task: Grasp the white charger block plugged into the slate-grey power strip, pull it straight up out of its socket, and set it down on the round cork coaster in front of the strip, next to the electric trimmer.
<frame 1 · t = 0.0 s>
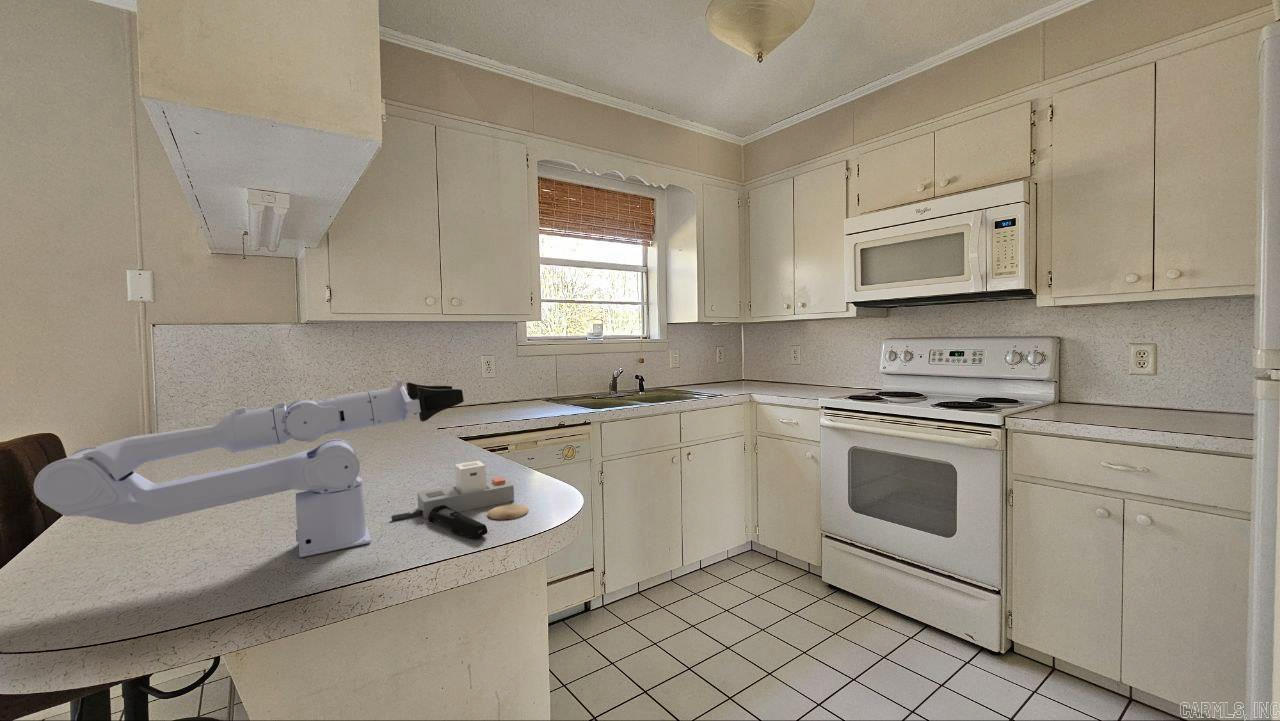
hand: (457, 393, 94), 22 cm above the countertop, tool horizontal, fingers open, 7 cm apart
power strip: (466, 504, 102), on the countertop
charger: (471, 493, 102), point 2 cm above the countertop, touching power strip
electric trimmer: (458, 531, 90), on the countertop
coaster: (508, 512, 96), on the countertop
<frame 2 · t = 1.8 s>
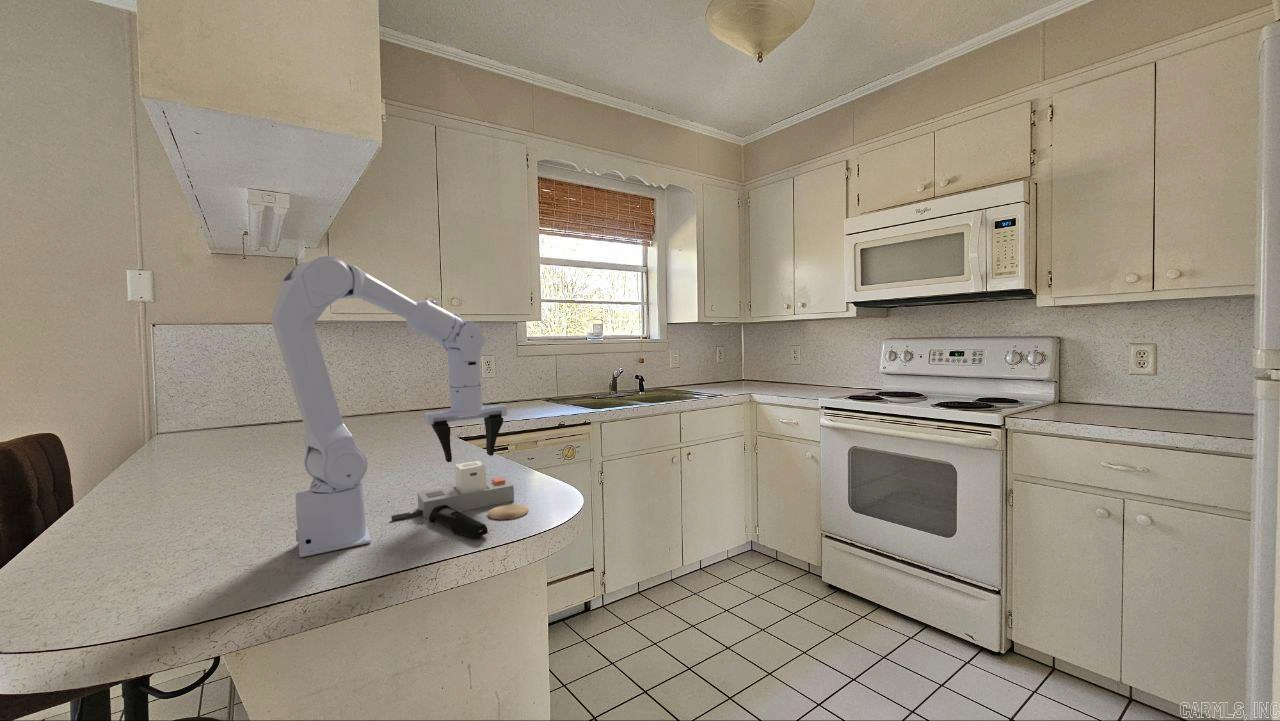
hand: (469, 457, 102), 9 cm above the countertop, tool pointing down, fingers open, 7 cm apart
nothing on the countertop moved.
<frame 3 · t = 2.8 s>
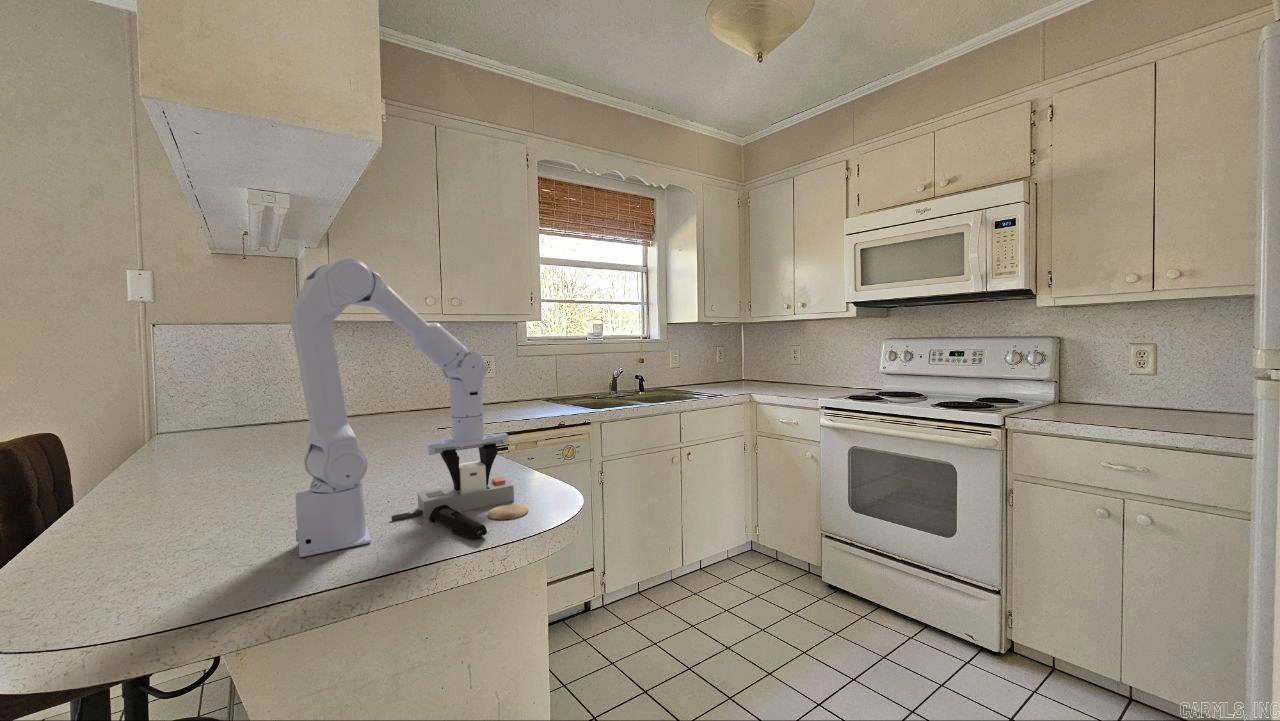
hand: (471, 486, 102), 3 cm above the countertop, tool pointing down, fingers closed on charger, 4 cm apart
charger: (471, 493, 102), point 2 cm above the countertop, touching gripper, power strip
everything else where it was.
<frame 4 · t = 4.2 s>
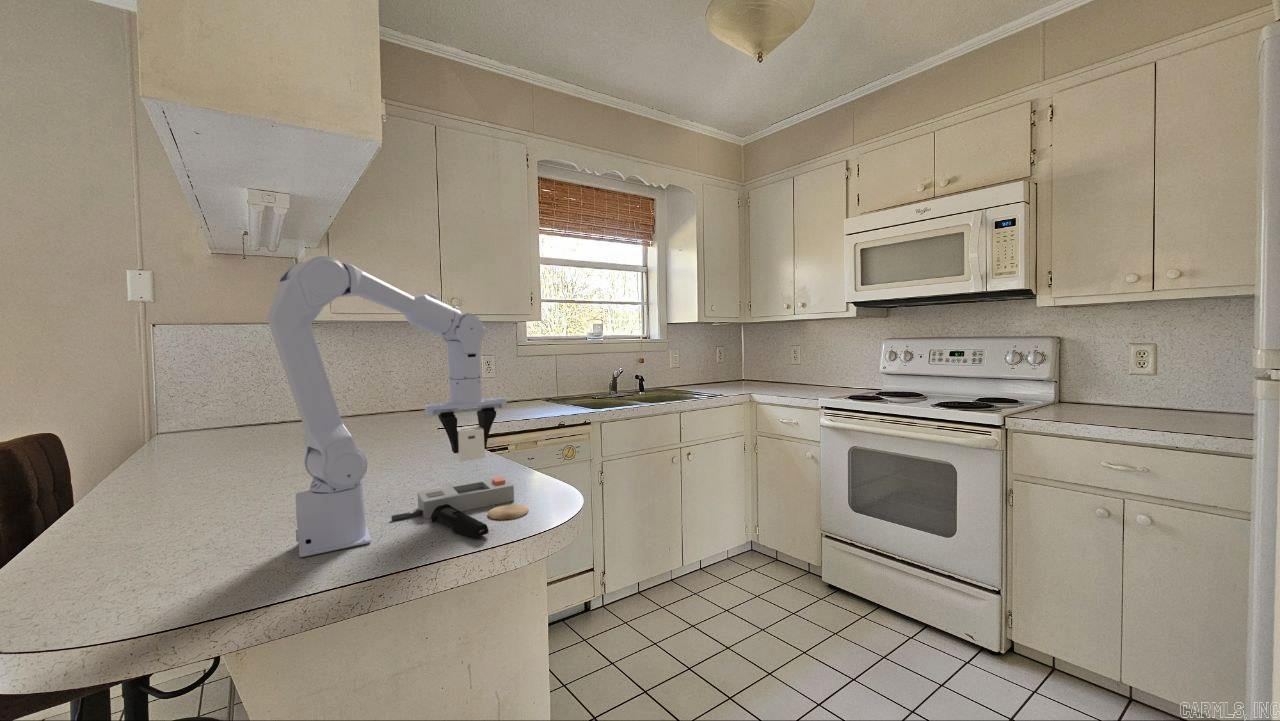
hand: (469, 450, 102), 10 cm above the countertop, tool pointing down, fingers closed on charger, 4 cm apart
charger: (469, 457, 102), point 9 cm above the countertop, touching gripper
everything else where it was.
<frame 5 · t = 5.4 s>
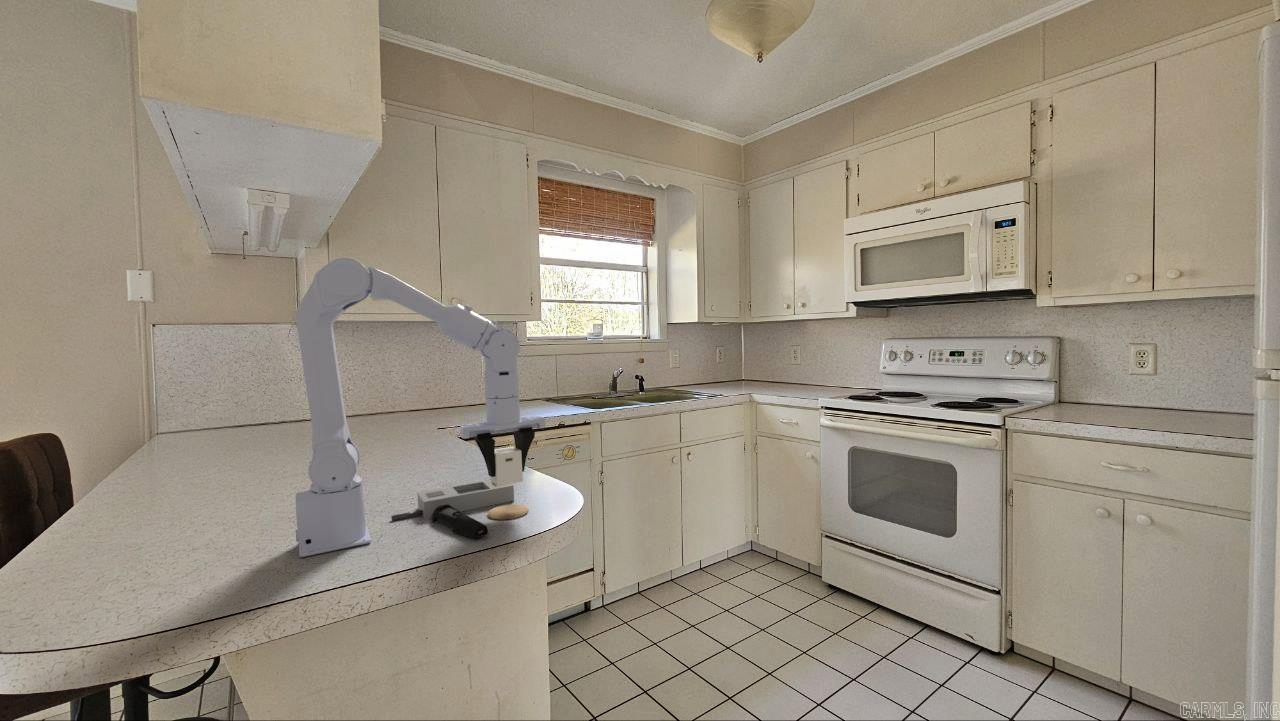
hand: (506, 473, 96), 7 cm above the countertop, tool pointing down, fingers closed on charger, 4 cm apart
charger: (506, 480, 96), point 6 cm above the countertop, touching gripper
everything else where it was.
when the fingers open (3 cm above the countertop, at t = 6.6 s): charger drops 1 cm, resting on coaster.
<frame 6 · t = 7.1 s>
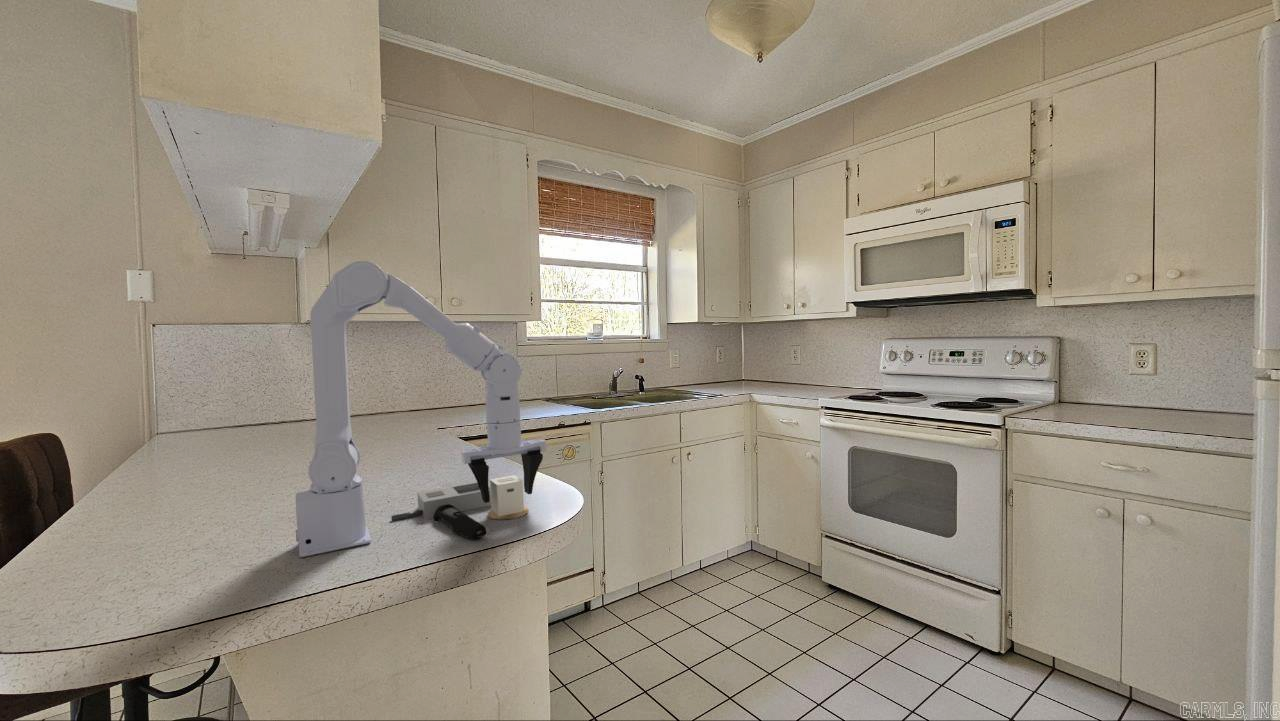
hand: (507, 496, 96), 3 cm above the countertop, tool pointing down, fingers open, 7 cm apart
charger: (507, 510, 97), resting on coaster
everything else where it was.
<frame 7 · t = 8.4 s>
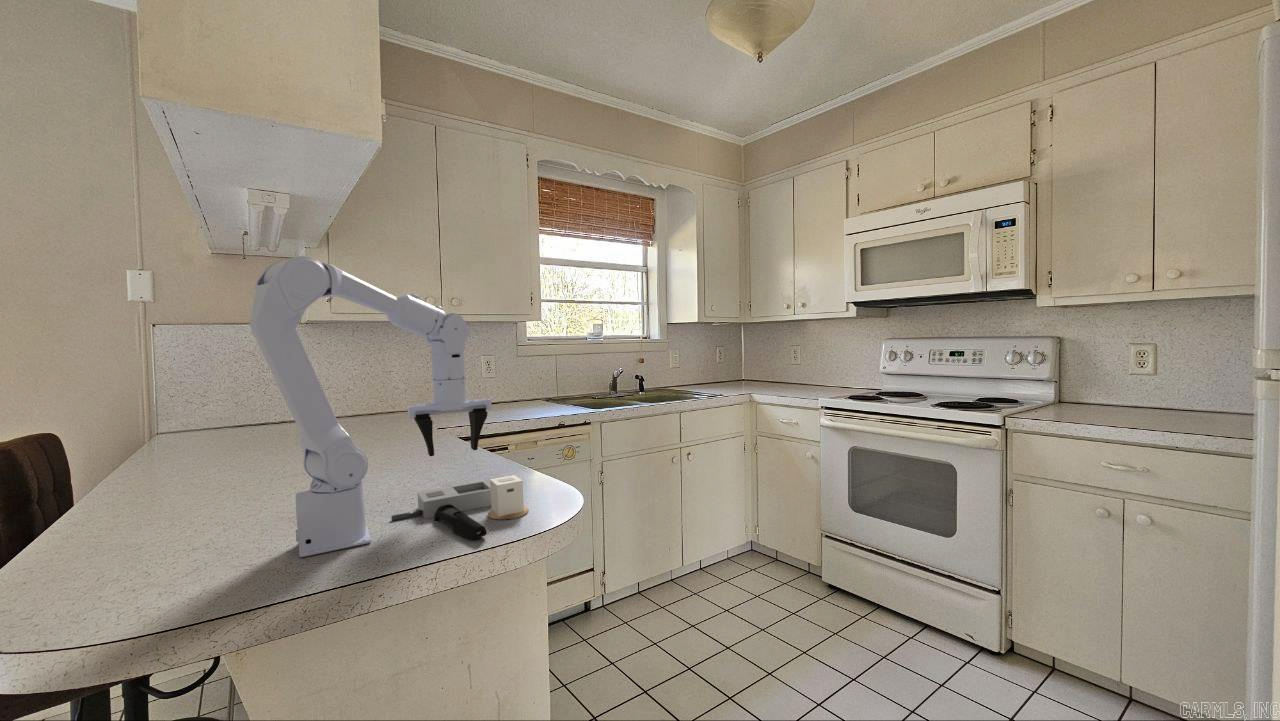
hand: (453, 452, 100), 10 cm above the countertop, tool pointing down, fingers open, 7 cm apart
nothing on the countertop moved.
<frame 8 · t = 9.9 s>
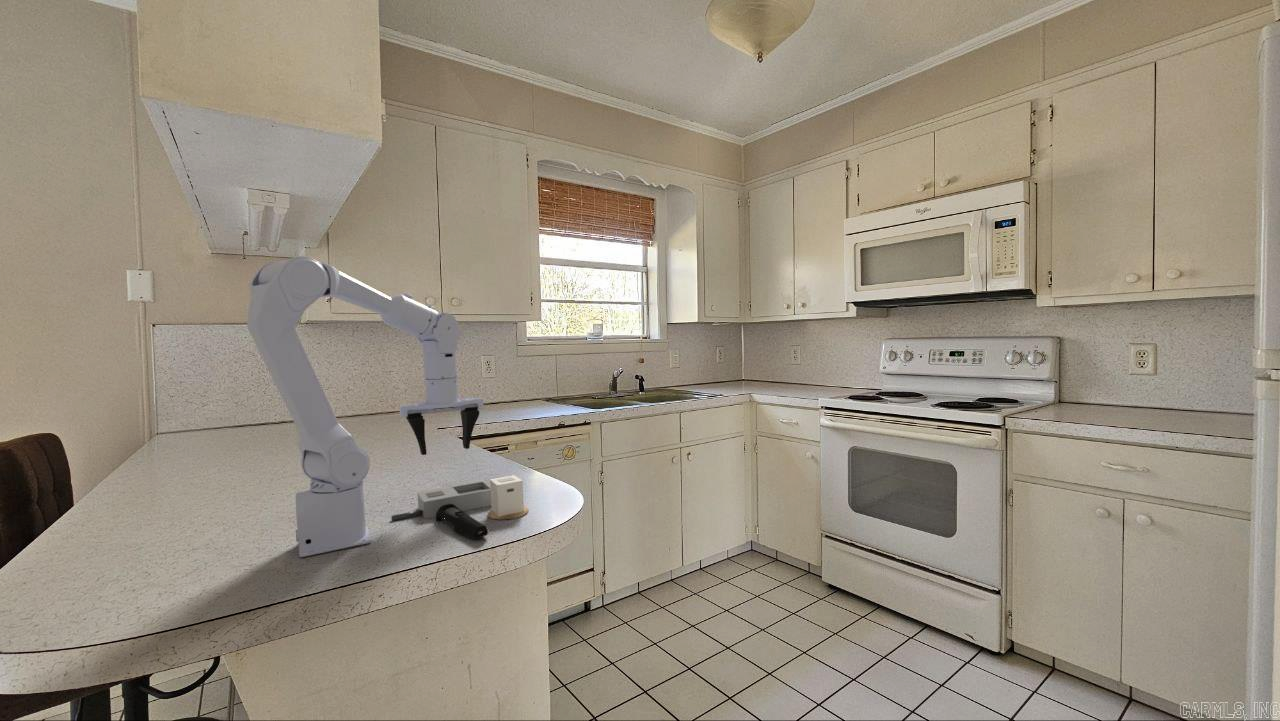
hand: (445, 450, 101), 10 cm above the countertop, tool pointing down, fingers open, 7 cm apart
nothing on the countertop moved.
at the end: charger inside the target area on the coaster (0.3 cm from its centre), point 0.4 cm above the coaster's base; charger tilted 0°; charger touching coaster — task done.
